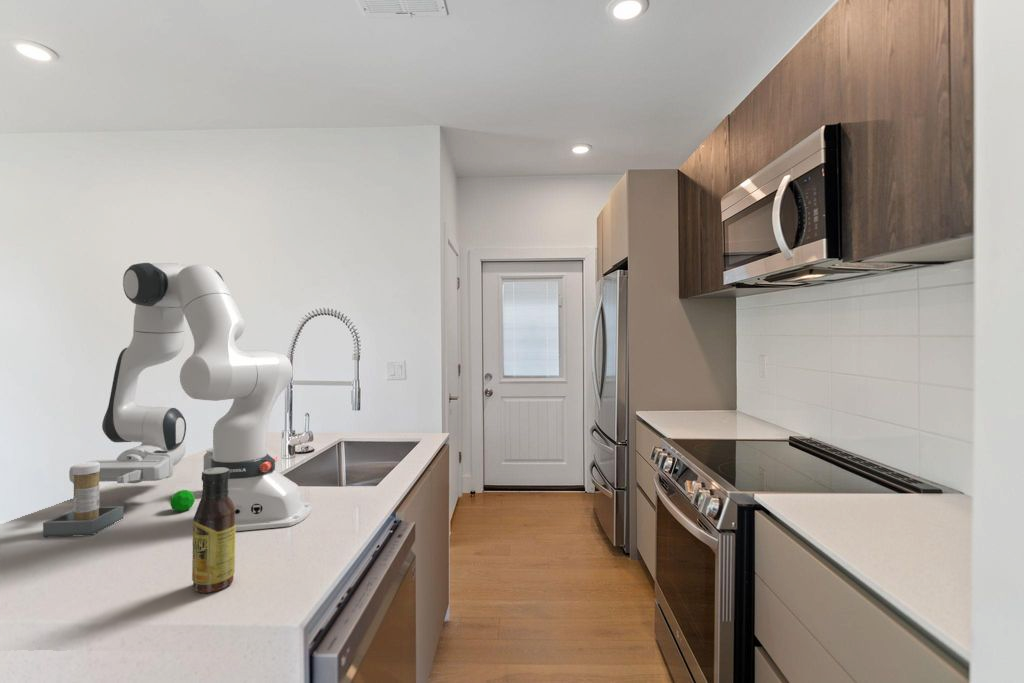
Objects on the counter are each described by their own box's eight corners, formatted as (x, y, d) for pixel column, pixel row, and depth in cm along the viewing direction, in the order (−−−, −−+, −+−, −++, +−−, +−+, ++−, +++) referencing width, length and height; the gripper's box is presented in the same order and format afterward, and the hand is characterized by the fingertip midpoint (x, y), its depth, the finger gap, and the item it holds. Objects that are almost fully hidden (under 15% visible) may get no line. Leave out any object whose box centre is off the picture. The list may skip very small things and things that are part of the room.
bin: (123, 519, 115) (123, 506, 115) (92, 535, 106) (92, 521, 106) (78, 520, 114) (78, 507, 114) (43, 536, 105) (43, 522, 105)
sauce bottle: (188, 585, 85) (188, 468, 85) (228, 573, 89) (229, 462, 89) (197, 600, 80) (198, 476, 80) (240, 586, 85) (240, 469, 85)
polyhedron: (166, 514, 118) (166, 494, 118) (176, 507, 123) (176, 488, 123) (189, 513, 119) (189, 493, 119) (198, 506, 124) (198, 487, 124)
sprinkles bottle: (79, 522, 112) (79, 462, 112) (103, 520, 113) (103, 460, 113) (68, 529, 107) (68, 467, 107) (93, 527, 109) (93, 465, 108)
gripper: (93, 452, 127) (48, 466, 113) (179, 451, 129) (145, 465, 115) (93, 477, 127) (48, 494, 113) (179, 476, 129) (145, 493, 115)
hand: (98, 480), depth 114 cm, fingers open, 8 cm apart
